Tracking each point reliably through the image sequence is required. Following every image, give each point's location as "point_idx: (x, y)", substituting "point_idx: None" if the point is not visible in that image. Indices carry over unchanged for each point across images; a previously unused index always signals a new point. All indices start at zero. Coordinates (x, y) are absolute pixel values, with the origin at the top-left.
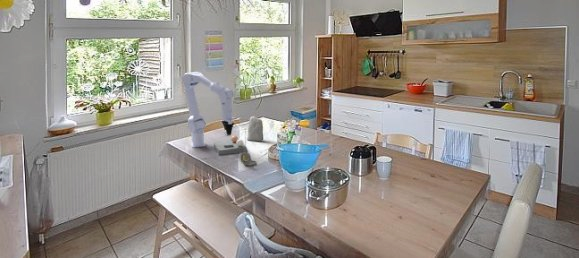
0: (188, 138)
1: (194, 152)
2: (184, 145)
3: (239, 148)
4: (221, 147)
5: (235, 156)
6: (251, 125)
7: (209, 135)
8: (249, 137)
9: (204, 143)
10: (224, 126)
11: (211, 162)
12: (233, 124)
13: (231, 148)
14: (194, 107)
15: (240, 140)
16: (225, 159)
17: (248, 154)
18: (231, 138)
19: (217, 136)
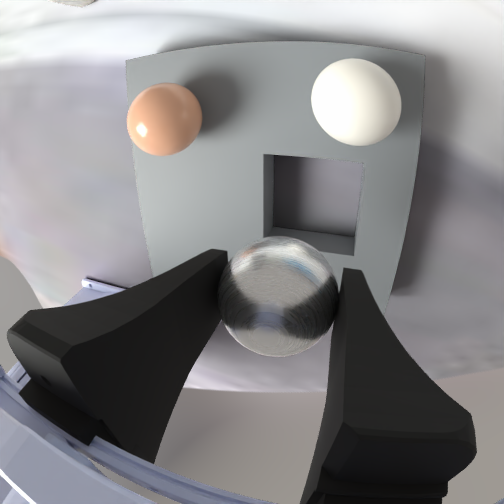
0: (42, 303)
1: (250, 374)
2: None
3: (419, 132)
4: None
5: (490, 206)
6: None
7: (5, 217)
8: None
9: (114, 290)
10: (181, 383)
11: (476, 361)
12: (467, 419)
13: (392, 209)
14: (3, 492)
15: (386, 102)
16: (495, 289)
17: None
18: (169, 155)
19: (12, 185)
